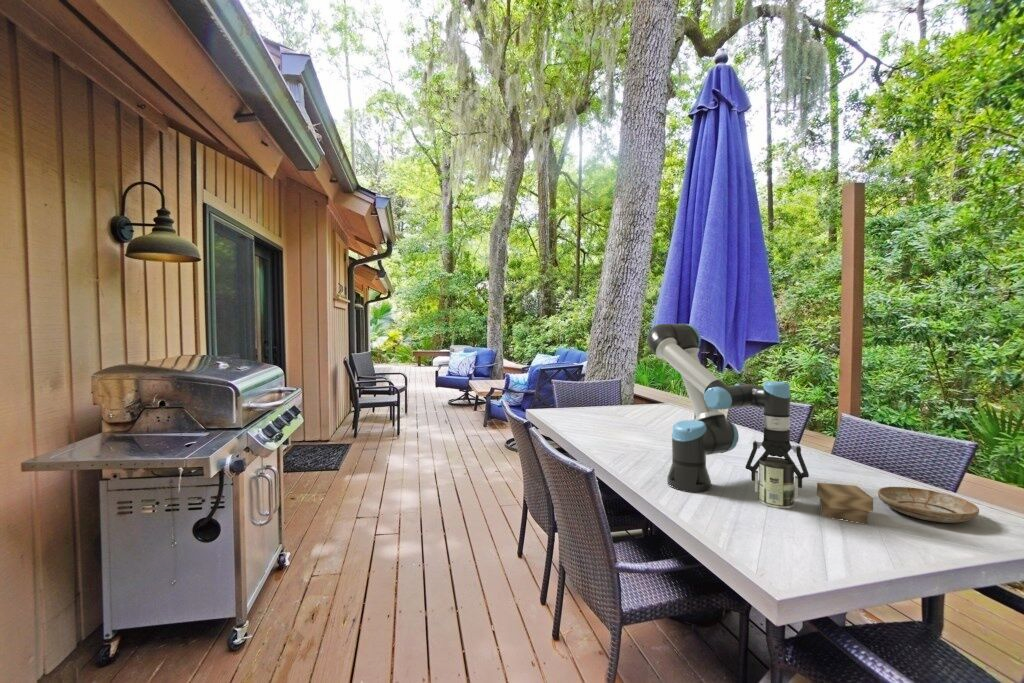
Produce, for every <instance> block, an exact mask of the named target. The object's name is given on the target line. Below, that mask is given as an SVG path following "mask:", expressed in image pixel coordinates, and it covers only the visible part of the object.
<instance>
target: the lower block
mask: <svg viewBox="0 0 1024 683" xmlns="http://www.w3.org/2000/svg"><path fill="white" fill-rule="evenodd" d="M819 506H820V512H821V511H822V512H821V516H823V517H822V518H827V519H832V518H834V519H833V520H838V519H843V520H842V521H844V520H848V521H847V522H850V521H853V522H852V523H855V522H858V523H857V524H861V523H864V524H863V525H867V524H869V522H868V521H869V519H868V518H869V517H868V516H869V515H868V514H869V511H860V510H849V509H838V508H830V507H829V506H828V505H827V504H826V503H825V502H824V501H823V500H822V499H821V498H820V497H819Z"/></svg>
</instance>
